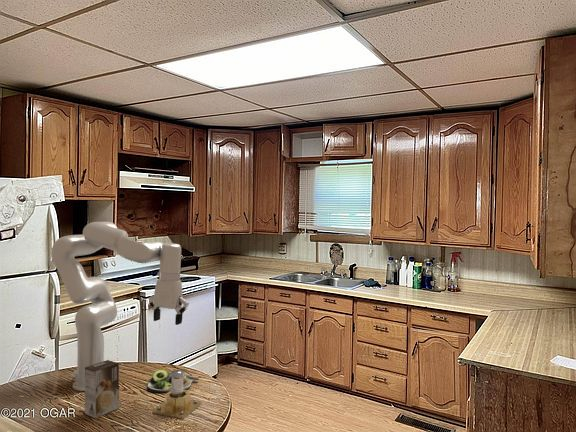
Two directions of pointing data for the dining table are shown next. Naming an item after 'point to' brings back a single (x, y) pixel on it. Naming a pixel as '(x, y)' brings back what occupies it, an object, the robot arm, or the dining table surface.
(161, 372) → the avocado toast plate
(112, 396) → the coffee box
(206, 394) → the dining table surface
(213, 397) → the dining table surface
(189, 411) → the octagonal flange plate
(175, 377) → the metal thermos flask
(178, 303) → the robot arm
